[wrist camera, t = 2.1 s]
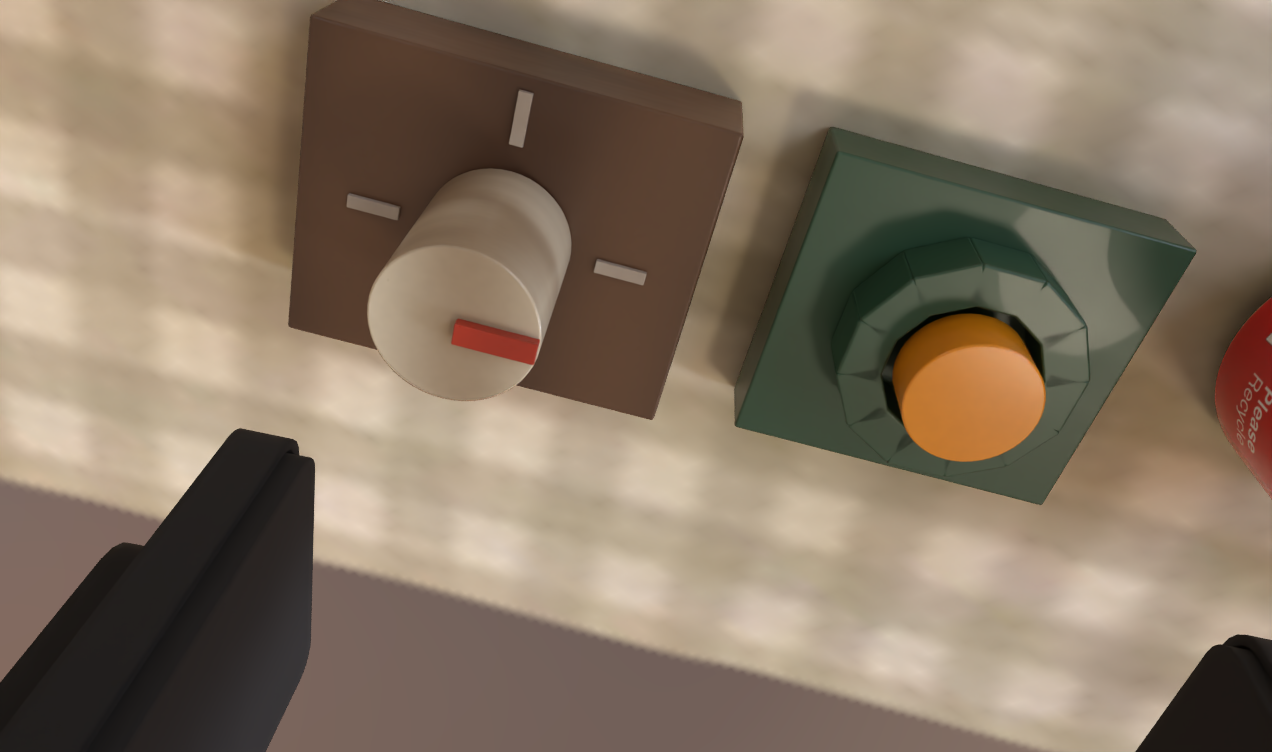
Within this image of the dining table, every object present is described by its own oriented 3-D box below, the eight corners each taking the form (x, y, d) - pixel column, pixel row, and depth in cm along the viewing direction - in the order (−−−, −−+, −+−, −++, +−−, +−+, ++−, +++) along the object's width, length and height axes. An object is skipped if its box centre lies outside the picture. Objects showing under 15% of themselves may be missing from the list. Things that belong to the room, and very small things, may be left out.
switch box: (733, 389, 32) (734, 462, 28) (829, 125, 27) (843, 174, 24) (1024, 464, 32) (1058, 545, 29) (1167, 219, 28) (1228, 280, 24)
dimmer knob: (415, 284, 27) (353, 384, 23) (435, 149, 25) (371, 230, 21) (555, 321, 28) (521, 426, 23) (586, 190, 25) (555, 278, 21)
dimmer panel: (323, 282, 31) (284, 330, 28) (349, -9, 26) (306, 15, 24) (659, 369, 32) (652, 424, 29) (743, 101, 27) (744, 136, 24)
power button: (872, 407, 28) (880, 443, 26) (922, 297, 26) (935, 328, 24) (993, 439, 28) (1008, 476, 26) (1052, 332, 26) (1072, 365, 24)
